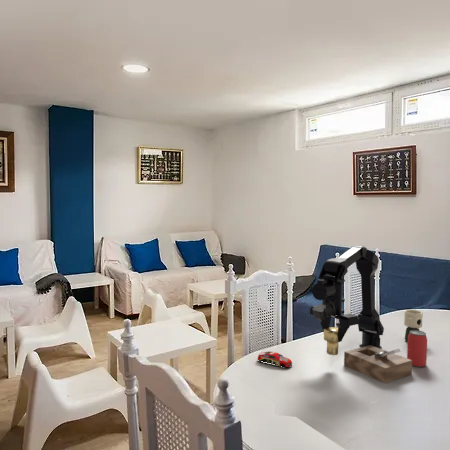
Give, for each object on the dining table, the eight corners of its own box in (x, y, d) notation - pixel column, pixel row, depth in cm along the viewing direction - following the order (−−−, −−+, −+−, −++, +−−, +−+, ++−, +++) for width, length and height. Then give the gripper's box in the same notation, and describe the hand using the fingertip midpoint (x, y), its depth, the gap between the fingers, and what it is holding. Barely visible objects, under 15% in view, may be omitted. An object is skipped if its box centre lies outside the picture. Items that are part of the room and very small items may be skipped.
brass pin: (319, 351, 155) (320, 328, 155) (332, 348, 158) (332, 326, 158) (332, 357, 150) (333, 333, 149) (345, 354, 153) (346, 330, 152)
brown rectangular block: (344, 364, 158) (344, 346, 157) (369, 357, 165) (370, 340, 164) (385, 383, 142) (385, 362, 142) (411, 374, 150) (412, 355, 149)
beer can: (428, 368, 155) (429, 335, 154) (408, 366, 156) (410, 334, 156) (423, 361, 162) (425, 330, 161) (405, 360, 163) (406, 329, 162)
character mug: (417, 346, 179) (418, 315, 178) (399, 342, 183) (401, 312, 182) (424, 340, 187) (426, 310, 186) (407, 336, 191) (408, 307, 191)
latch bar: (377, 358, 151) (375, 353, 152) (383, 356, 153) (381, 352, 154) (394, 353, 145) (392, 348, 146) (400, 351, 147) (398, 346, 147)
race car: (294, 365, 157) (294, 355, 157) (288, 370, 152) (288, 359, 152) (262, 358, 164) (263, 347, 164) (255, 362, 160) (256, 352, 159)
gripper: (299, 292, 157) (298, 335, 157) (337, 303, 141) (336, 350, 142) (321, 289, 162) (320, 330, 163) (360, 300, 146) (359, 344, 147)
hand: (332, 338), depth 154 cm, fingers closed on brass pin, 6 cm apart
